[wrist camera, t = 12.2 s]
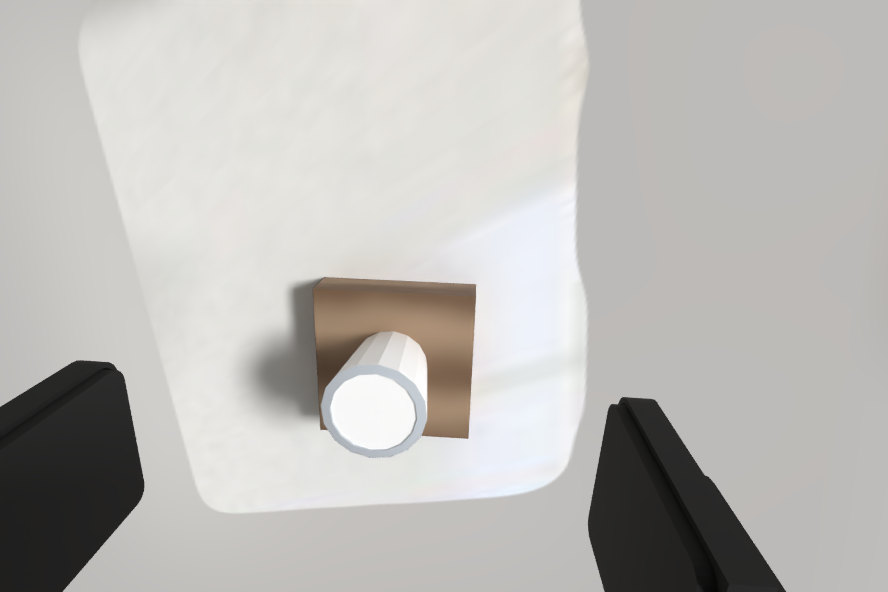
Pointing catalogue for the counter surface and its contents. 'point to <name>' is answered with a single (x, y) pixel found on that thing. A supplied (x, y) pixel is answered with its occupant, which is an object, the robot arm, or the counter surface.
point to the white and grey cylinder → (379, 397)
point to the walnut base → (410, 313)
